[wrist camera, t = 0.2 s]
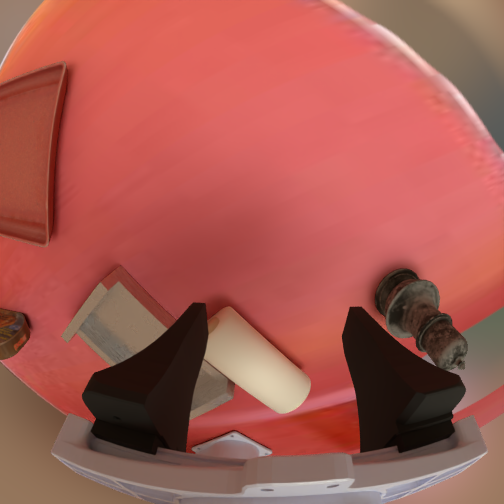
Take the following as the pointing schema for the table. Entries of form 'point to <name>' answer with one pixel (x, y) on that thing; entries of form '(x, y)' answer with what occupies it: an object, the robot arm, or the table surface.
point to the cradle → (137, 333)
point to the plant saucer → (30, 152)
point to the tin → (12, 333)
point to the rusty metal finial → (420, 318)
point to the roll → (254, 362)
